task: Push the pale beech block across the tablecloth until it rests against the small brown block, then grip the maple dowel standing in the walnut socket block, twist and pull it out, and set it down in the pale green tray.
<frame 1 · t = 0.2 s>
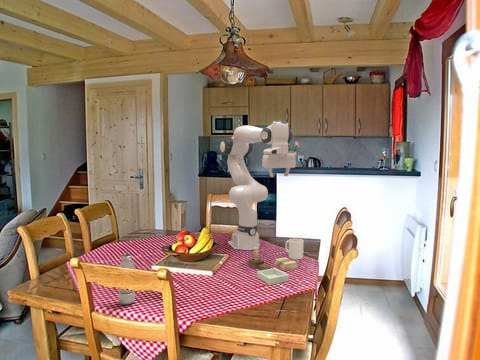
hand: (279, 176, 205), 47 cm above the table, tool pointing down, fingers open, 8 cm apart
cup: (293, 257, 220), on the table
dowel: (256, 266, 200), resting on socket block
tray: (272, 279, 184), on the table
board: (285, 268, 201), on the table
small brown block: (264, 271, 195), on the table
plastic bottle: (126, 303, 155), on the table
socket block: (256, 267, 200), on the table
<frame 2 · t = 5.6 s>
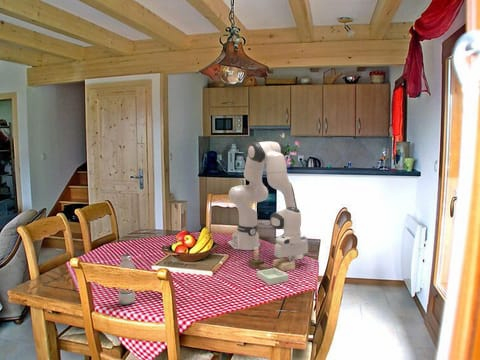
hand: (291, 263, 203), 2 cm above the table, tool pointing down, fingers closed
board: (283, 268, 200), on the table, touching gripper
everything else where it was.
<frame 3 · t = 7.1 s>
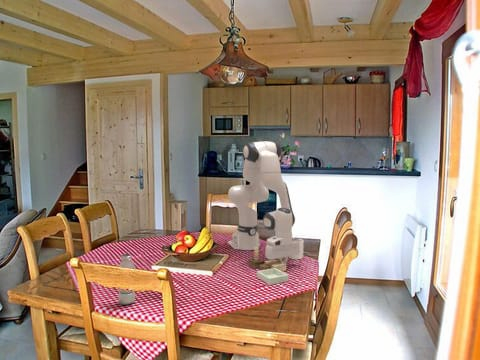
hand: (282, 265, 200), 2 cm above the table, tool pointing down, fingers closed
board: (274, 270, 197), on the table
everything else where it was.
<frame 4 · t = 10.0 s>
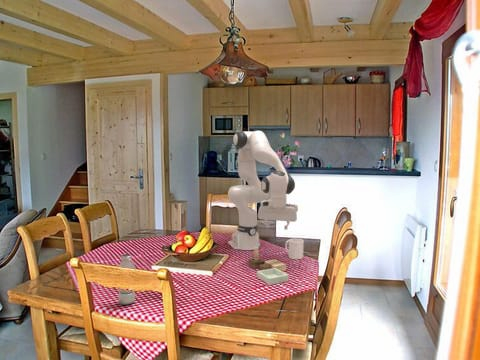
hand: (276, 228, 200), 21 cm above the table, tool pointing down, fingers open, 8 cm apart
nothing on the table moved.
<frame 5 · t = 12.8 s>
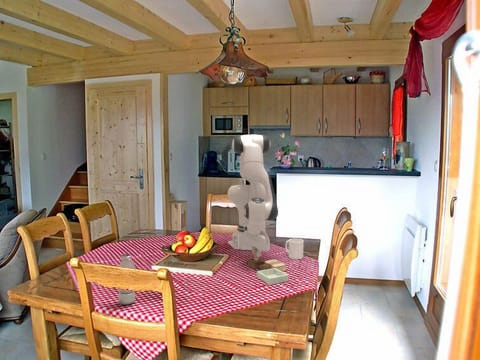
hand: (256, 255, 200), 7 cm above the table, tool pointing down, fingers closed on dowel, 2 cm apart
dowel: (256, 266, 200), point 1 cm above the table, touching gripper, socket block
everything else where it was.
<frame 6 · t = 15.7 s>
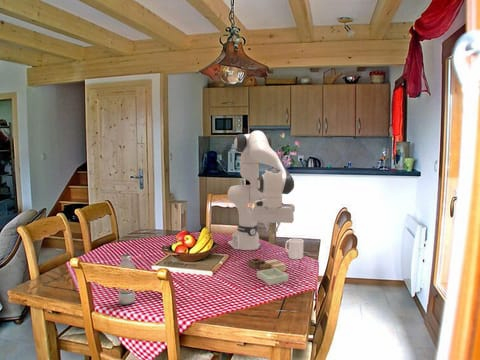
hand: (272, 231, 182), 24 cm above the table, tool pointing down, fingers closed on dowel, 2 cm apart
dowel: (271, 243, 183), point 17 cm above the table, touching gripper
everything else where it was.
when the fingers open (7 cm above the table, at t = 18.9 s): dowel stays where it is, resting on tray.
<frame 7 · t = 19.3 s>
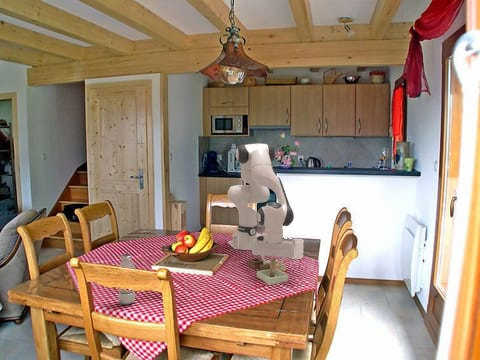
hand: (272, 264, 183), 7 cm above the table, tool pointing down, fingers open, 6 cm apart
dowel: (272, 278, 184), point 1 cm above the table, touching tray
everything else where it was.
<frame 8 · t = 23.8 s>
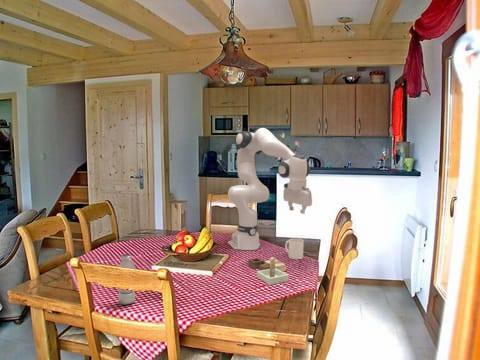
hand: (296, 211, 202), 29 cm above the table, tool pointing down, fingers open, 8 cm apart
nothing on the table moved.
at the end: board inside the target area (0.4 cm from its centre), on the table; dowel inside the target area on the tray (0.0 cm from its centre), point 0.6 cm above the tray's base; the gripper is holding nothing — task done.
